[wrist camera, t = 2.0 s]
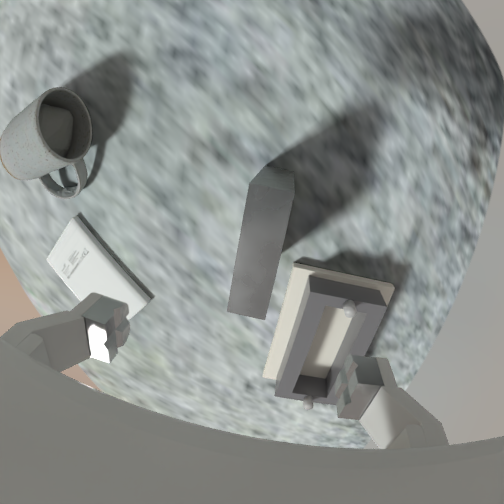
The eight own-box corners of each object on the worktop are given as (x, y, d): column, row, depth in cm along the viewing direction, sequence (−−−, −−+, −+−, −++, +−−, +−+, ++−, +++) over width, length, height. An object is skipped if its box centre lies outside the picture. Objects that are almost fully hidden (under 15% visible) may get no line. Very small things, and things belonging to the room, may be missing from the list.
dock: (293, 262, 28) (293, 289, 23) (392, 283, 27) (408, 312, 22) (263, 371, 33) (258, 404, 28) (344, 384, 33) (349, 417, 28)
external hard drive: (117, 328, 35) (52, 255, 32) (153, 296, 32) (80, 213, 29) (111, 335, 33) (44, 261, 31) (147, 304, 30) (71, 217, 28)
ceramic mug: (35, 119, 25) (-14, 125, 18) (85, 87, 24) (33, 84, 16) (56, 203, 29) (10, 225, 22) (108, 183, 27) (59, 203, 20)
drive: (264, 165, 25) (248, 182, 16) (293, 171, 25) (294, 192, 15) (247, 252, 28) (225, 311, 19) (274, 257, 28) (264, 320, 19)
